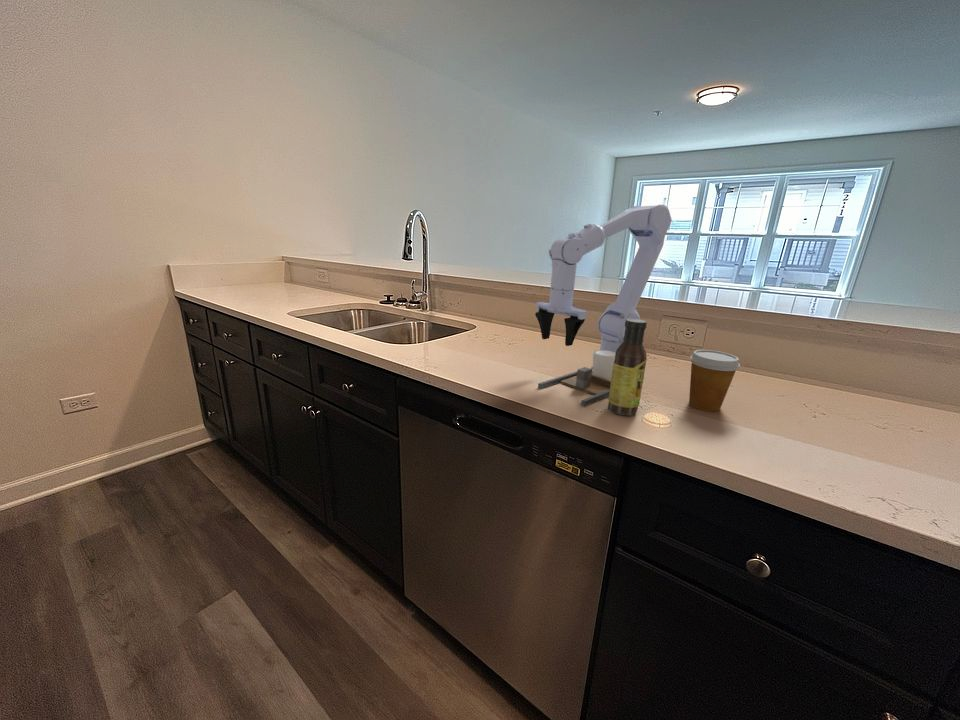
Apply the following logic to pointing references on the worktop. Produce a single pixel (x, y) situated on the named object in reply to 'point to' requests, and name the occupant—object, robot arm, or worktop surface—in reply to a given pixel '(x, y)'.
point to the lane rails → (559, 379)
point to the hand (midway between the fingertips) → (556, 341)
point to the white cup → (603, 363)
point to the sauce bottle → (628, 370)
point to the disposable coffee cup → (711, 378)
